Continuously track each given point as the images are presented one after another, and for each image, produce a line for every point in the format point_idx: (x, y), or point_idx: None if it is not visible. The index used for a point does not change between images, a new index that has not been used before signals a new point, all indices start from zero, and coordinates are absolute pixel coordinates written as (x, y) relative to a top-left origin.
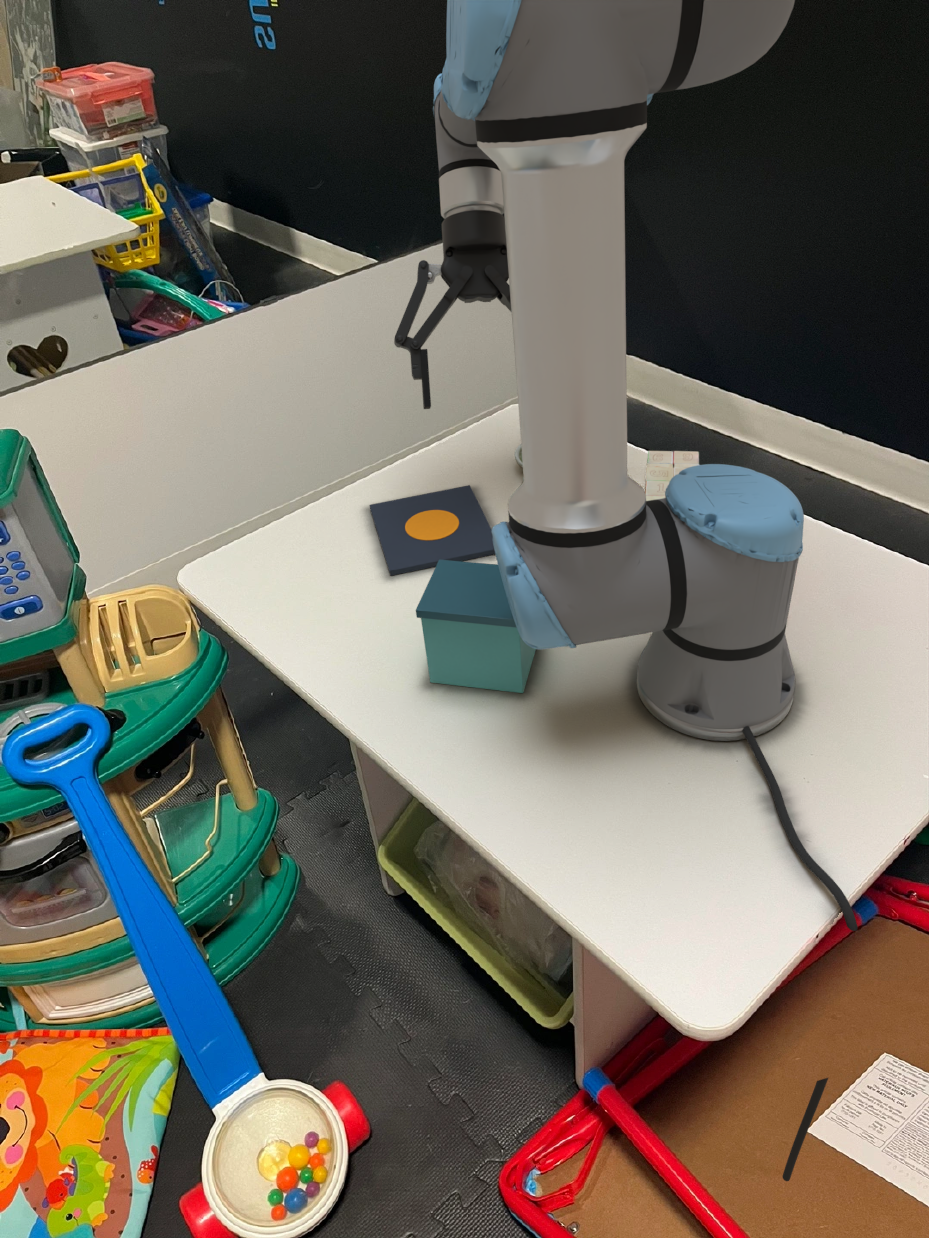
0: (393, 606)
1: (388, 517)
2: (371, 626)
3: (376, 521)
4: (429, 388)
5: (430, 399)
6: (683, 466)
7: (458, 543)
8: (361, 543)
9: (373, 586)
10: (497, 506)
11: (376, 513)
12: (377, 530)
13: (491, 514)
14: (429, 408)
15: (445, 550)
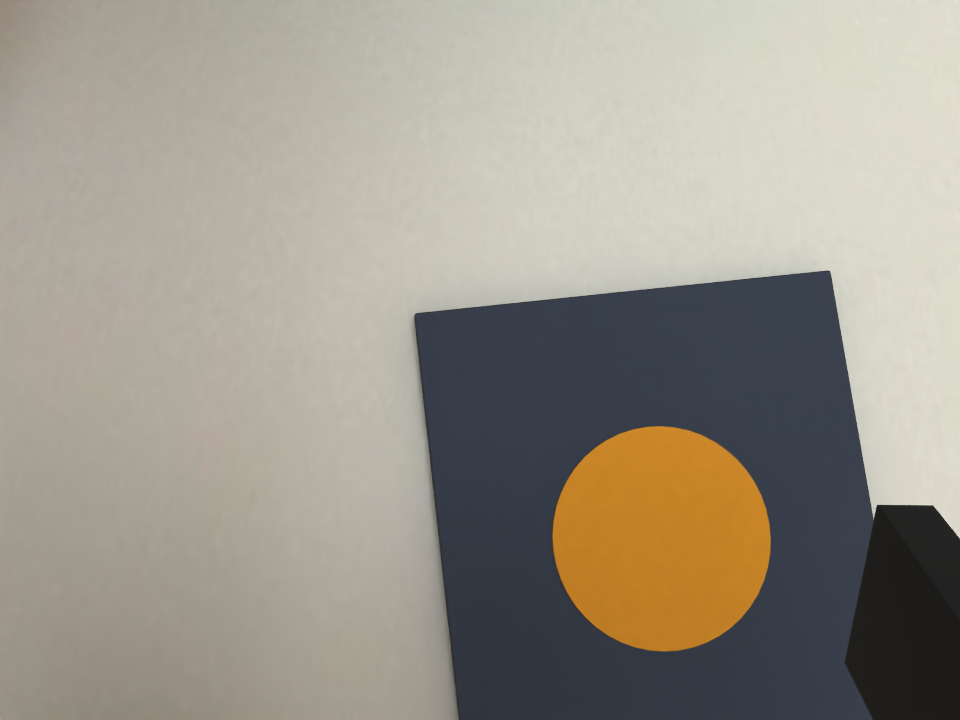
0: (810, 108)
1: (836, 640)
2: (879, 28)
3: None
4: (949, 600)
5: (901, 540)
6: None
7: (569, 382)
8: None
9: (877, 232)
10: (374, 657)
11: None
12: None
13: (408, 599)
14: (854, 639)
15: (622, 346)
